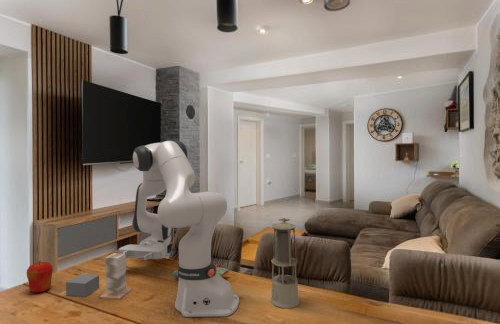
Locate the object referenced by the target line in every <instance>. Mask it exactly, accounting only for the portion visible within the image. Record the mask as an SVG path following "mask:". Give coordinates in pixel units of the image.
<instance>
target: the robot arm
mask: <svg viewBox="0 0 500 324" xmlns="http://www.w3.org/2000/svg"><path fill="white" fill-rule="evenodd" d="M132 152H133V153H132V161H133V165H134V166H135V168H136V169H137V170H138V171H139V172H142V177H143V178H142V182H141V183H140V184H138V187H137V189H136V193H135V203H134V211H133V212H134V214H133V218H132V224H131V226H132V228H133V229H134V231H135V232H136V233H143V234H150V235H149V236H148V237H145V238H144V239H143V240H141V241H140V242H139V244H126V245H124V246H121V247H119V248H118V251H117V252H118V254H125V256H126V258H131V259H132V258H134V259H141V260H142V261H147V260H162V259H164V258H165V257H167V256H168V246H169V244H170V243H171V241H172V233H173V232H172V231H173V229H175V228H176V229H180V228H186V227H189V230H188V232H187V233H186V234H185V235H183V237H182V238H181V239H180V240H179V243H178V264H177V269H176V270H177V275H178V280H177V281H178V285H177V292H176V299H175V303H174V307H175V309H176V310H177V311H179V312H180V313H181V315H182V317H185V318H189V317H190V318H193V317H194V318H195V317H197V318H199V317H201V318H202V317H229V316H231V315H232V314H234V313H235V312H236V310H237V309H238V307H239V305H240V297H239V296H238V294H235V293H234V292H233V287H232V285H231V282H229V281H228V280H226V279H225V278H223V277H221V276H220V275H218V274H217V273H216V268H217V267H218V263H215V264H214V263H213V262H212V260H211V259H212V255H211V252H212V251H211V250H212V239H213V235H214V234H215V233H214V232H215V229H216V228H217V227H218V226H217V225H218V223H220V220H222V219H223V217H224V216H225V215H226V213H227V210H228V209H227V208H228V202H227V200H226V197H225V196H224V195H223V193H221V192H216V191H200V192H191V190H190V189H191V188H192V186H193V185H194V183H195V182H196V174H195V172H194V169H193V167H192V165H191V163H190V161H189V159H188V157H189V156H188V155H189V154H188V149H187V147H186V145H185V144H184V142H182V141H178V140H166V141H163V142H154V143H149V144H146V145H139V146H138V147H135V148H134V150H133V151H132ZM165 191H166V193H165V197H163V199H161V201H160V203H159V205H158V207H157V213H152V212H149V211H148V210H147V202H148V201H147V200H148V198H150V197H154V196H155V197H156V196H158V195H160V194H162V193H164V192H165Z"/></svg>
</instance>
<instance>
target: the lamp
mask: <svg viewBox="0 0 500 324" xmlns="http://www.w3.org/2000/svg"><path fill="white" fill-rule="evenodd" d="M278 221H280V222H279V223H274V224H272V225H271V228H272V229H273V238H274V239H273V248H272V249H273V258H272V259H271V260H270V261H271V263H272V268H271V297H270V303H271V304H272V305H273V306H275V307H276V308H277V307H278V308H281V309H291V308H296V307H297V306H299V304H300V302H301V301H300V298H299V287H298V286H299V284H298V283H299V281H298V278H297V264H298V260H297V243H296V242H297V241H296V233H295V232H296V225H295V223H290V222H289V221H290V218H286V217H282V218H278ZM291 231H292V232H293V240H294V241H293V242H294V243H293V245H294V257H293V256H292V248H291V247H292V246H291V234H292V233H291ZM275 266H277V267H278V275H274V273H275ZM287 267H291V268H292V269H291V271H292V273H291V274H292V275H291V274H290V275H289V274H284V272H285V271H284V270H285V269H284V268H287Z"/></svg>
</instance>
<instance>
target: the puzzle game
mask: <svg viewBox="0 0 500 324" xmlns="http://www.w3.org/2000/svg"><path fill="white" fill-rule="evenodd" d="M177 270H178V269H176V270H174V271H173V272H172V276H173V277H174V278H175V280H177V281H179V280H178V275H177ZM229 272H230V270H229V269H228V268H224V267H218V266H217V268H216V273H217V274H218V275H220V276H221V277H222V278H223V277H224V276H225V275H227V274H228V273H229Z"/></svg>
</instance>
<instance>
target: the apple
mask: <svg viewBox="0 0 500 324" xmlns="http://www.w3.org/2000/svg"><path fill="white" fill-rule="evenodd" d="M53 268H54V267H53V265H52V263H51V262H47V261H38V262H35V263H33V264H31V265H29V266H28V268H27V269H26V278H27V280H28V287H29V290H30V291H31V292H33V293H35V294H37V293H44V292H46V291H48V289H50V287H51V286H52V277H53V270H54V269H53Z"/></svg>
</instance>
